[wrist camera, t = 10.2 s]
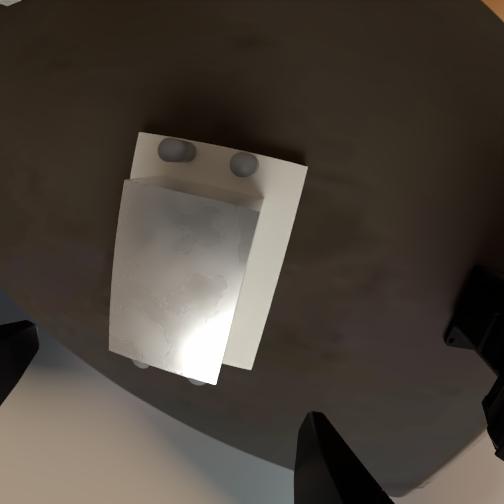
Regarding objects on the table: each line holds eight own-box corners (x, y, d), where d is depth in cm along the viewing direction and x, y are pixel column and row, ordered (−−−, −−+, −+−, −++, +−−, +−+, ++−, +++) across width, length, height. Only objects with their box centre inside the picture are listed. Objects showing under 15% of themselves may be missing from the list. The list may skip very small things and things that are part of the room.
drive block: (264, 198, 17) (260, 211, 13) (228, 336, 20) (215, 384, 15) (163, 174, 17) (124, 179, 13) (142, 311, 20) (108, 350, 15)
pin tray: (306, 166, 18) (314, 166, 14) (252, 361, 21) (247, 398, 18) (145, 133, 18) (115, 127, 14) (120, 324, 21) (95, 352, 18)
